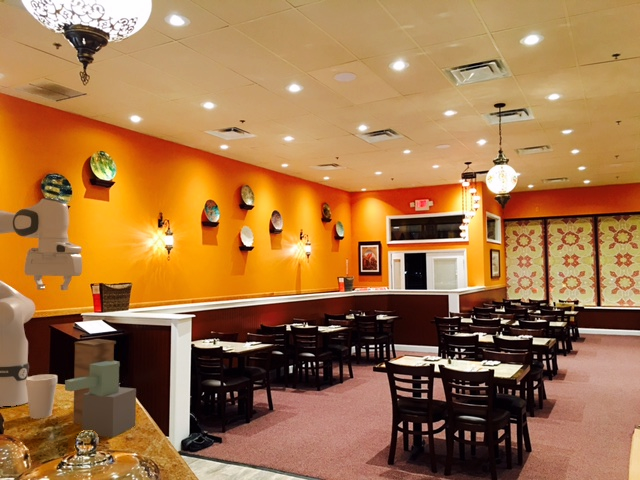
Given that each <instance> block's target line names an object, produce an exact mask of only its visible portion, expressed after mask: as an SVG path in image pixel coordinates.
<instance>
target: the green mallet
mask: <svg viewBox="0 0 640 480" xmlns="http://www.w3.org/2000/svg"><path fill="white" fill-rule="evenodd" d="M120 363H121V362H120V361H117V360H114V361H111V362H110V361H104V362H99V363H93V364H90V376H85V377H80V378H75V379H74V378H70V379H67V380H66V379H65V380H64V383H65V384H64V390H65V391H67V392H74V391H75V390H80V389H84V388H89V394H93V395H97V396H105V395H110V394H114V393H118V391H119V387H120V366H121V364H120Z"/></svg>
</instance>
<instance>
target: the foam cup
mask: <svg viewBox="0 0 640 480" xmlns="http://www.w3.org/2000/svg"><path fill="white" fill-rule="evenodd" d="M57 384H58V375H57V374H47V373H46V374H37V375H32V376H28V378H26V386H27V394H28V409H29V417H31V418H30V419H32V418H33V420H34V419H35V420H39V419H40V418H41V419H46V418H45V417H47V418H48V417H51V416H52V413H53V408H54V401H55V396H56V391H57V390H56V389H57Z"/></svg>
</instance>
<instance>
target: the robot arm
mask: <svg viewBox="0 0 640 480" xmlns="http://www.w3.org/2000/svg"><path fill="white" fill-rule="evenodd" d="M69 226H70V212H69V207H68V204H67V203H66V202H65V201H64V200H61V199H56V198H51V197H45V198H41V200H39V202H38V203H36V204H34V205H32V206H30V207H26V208H22V209H20V210H18V211H17V212H16V213H14V212H8V211H5V210H0V235H3V234H11V233H16V234H17V236H20V237H23V238H30V239H32V238H33V239H38V241H37V242H38V245H37V247H31V248H30V249H29V250H28V251H27V252H26V253H27V254H26V258H25V263H24V273H25V275H26V276H30V277H31V276H34V277H33V279H34V281H35V284H36V289H37V290H39V291H40V290H41V291H42V290H43V291H44V290H45V289H46V288H45V287H46V284H45V283H43V281H42V279H43V277H44V276H47V277H48V276H49V277H56V276H57V277H62V278H63V280H64V281H63V283H62V284H60V291H68V290H69V285H70V283H71V282H72V279H73V277H80V276H81V275H82V273H83V258H82V255H81V253H82V250H83V249H82V247H81V246H79V245H77V244H73V243H72V242H70V241H69V235H68V229H69ZM35 312H36V305H35V303H34V301H33V300H32V299H31V298H29V297H27V296H25V295H24V294H22V293H21V292H19V291H18V290H16V289H15V288H13V287H12V286H10V285H8V284H7V283H5V282H4V281H2V279H0V407H1V408H3V407H2V406H11V407H15V406H16V405H17V406H21V405H24V404H27V403H28V404H29V402H28V394H27V386H26V378H28V377H29V376H28V374H29V372H30V371H29V370H30V363H29V362H28V355H29V341H28V339H27V337H26V334H25V328H24V327H25V326H24V324H25V323H27V322H29V321H30V320H31V319H32V317H34V315H35Z"/></svg>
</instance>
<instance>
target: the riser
mask: <svg viewBox="0 0 640 480" xmlns="http://www.w3.org/2000/svg"><path fill="white" fill-rule="evenodd" d="M136 403H137V388H132V387H122V386H121V387H120V386H119V391H118V393H114V394H110V395H105V396H97V395H93V394H89V392H88V393H85V394H83V409H82V425H81V432H82V431H83V430H93V431H95V432H96V433H97V434H98V436H97V437H102V438H103V437H104V438H111V439H113V438H115V437H117V436H119V435H121V434H123V433H126V432H128V431H130V430H131V428H132V427H134V426H135V427H136V415H137V414H136V411H137V409H136V408H137V404H136ZM135 427H134V428H135ZM129 429H130V430H129ZM132 429H133V428H132ZM127 430H128V431H127Z"/></svg>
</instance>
